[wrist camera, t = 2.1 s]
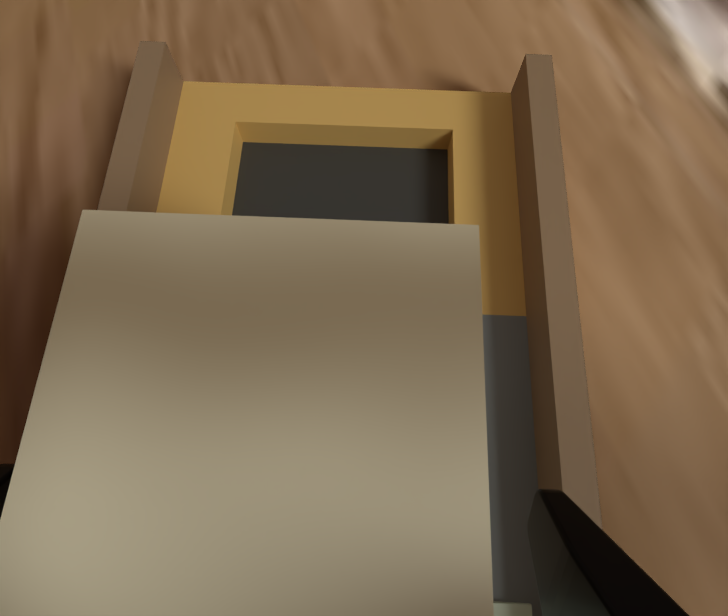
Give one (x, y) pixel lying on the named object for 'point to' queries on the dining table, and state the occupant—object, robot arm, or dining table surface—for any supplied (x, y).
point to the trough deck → (404, 204)
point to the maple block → (256, 424)
